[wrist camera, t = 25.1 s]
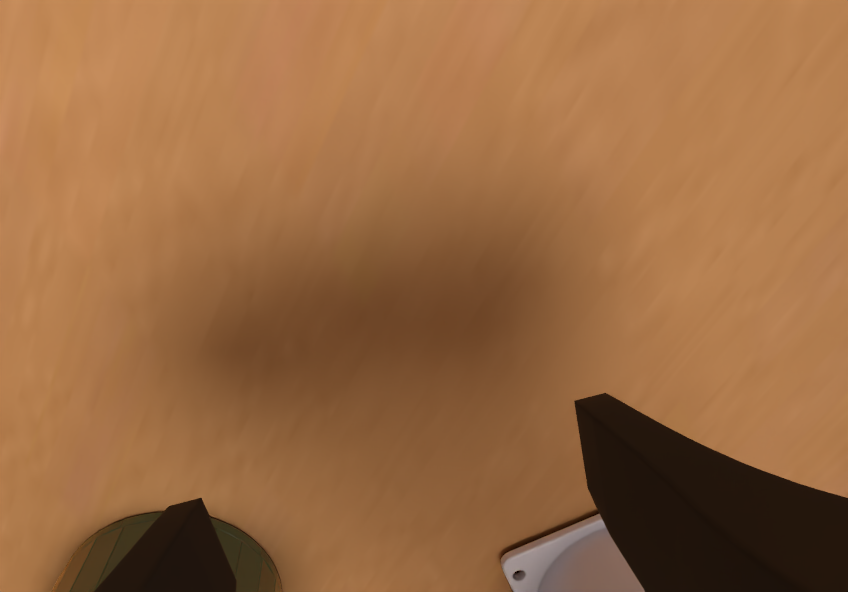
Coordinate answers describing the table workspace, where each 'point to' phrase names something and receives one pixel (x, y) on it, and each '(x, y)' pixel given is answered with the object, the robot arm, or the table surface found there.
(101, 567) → the green round pot
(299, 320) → the table surface
